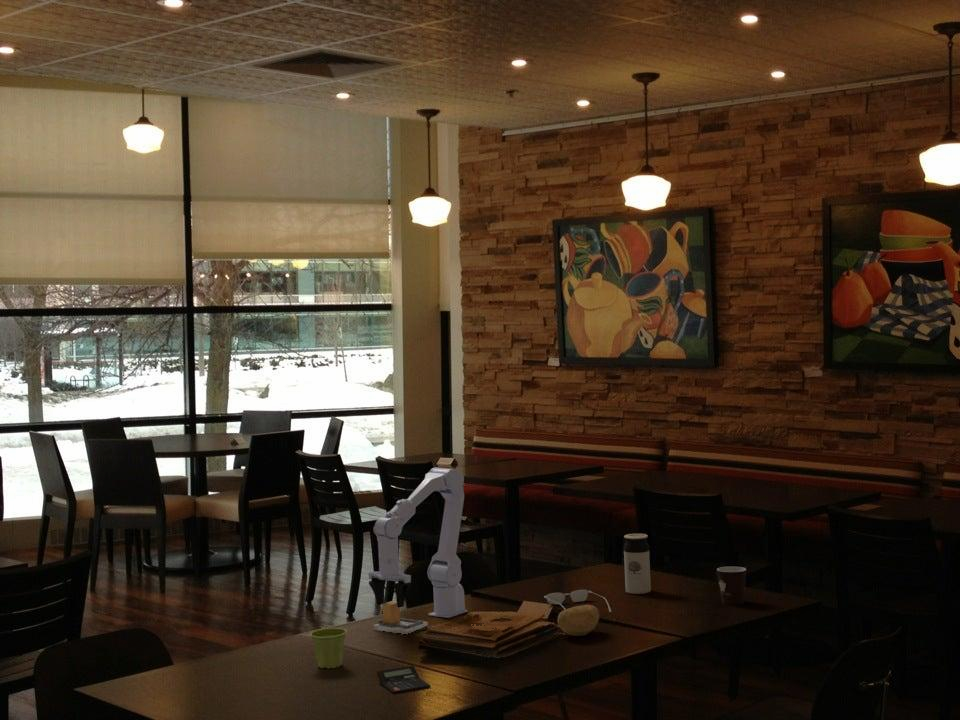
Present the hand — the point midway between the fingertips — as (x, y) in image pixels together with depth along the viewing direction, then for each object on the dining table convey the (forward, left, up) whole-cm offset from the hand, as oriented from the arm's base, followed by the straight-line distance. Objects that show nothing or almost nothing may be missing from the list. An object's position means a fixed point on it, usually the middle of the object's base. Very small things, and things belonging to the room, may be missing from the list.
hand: (390, 605), depth 341 cm
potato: (-17, +54, -7) cm, 57 cm away
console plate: (0, +4, -6) cm, 7 cm away
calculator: (+43, +41, -7) cm, 59 cm away
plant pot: (+39, +13, -7) cm, 41 cm away
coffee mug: (-72, +74, -7) cm, 103 cm away
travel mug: (-72, +42, -7) cm, 83 cm away
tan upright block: (0, 0, -5) cm, 5 cm away
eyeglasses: (-44, +37, -7) cm, 58 cm away
